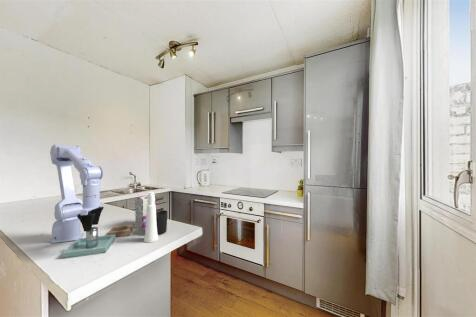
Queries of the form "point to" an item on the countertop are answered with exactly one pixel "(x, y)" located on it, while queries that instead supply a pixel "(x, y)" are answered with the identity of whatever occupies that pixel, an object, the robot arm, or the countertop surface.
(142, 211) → the candy bar box
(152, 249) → the countertop surface
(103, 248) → the tray
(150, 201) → the cosmetic bottle
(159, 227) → the pen holder
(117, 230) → the socket block
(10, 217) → the countertop surface
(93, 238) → the steel pin
